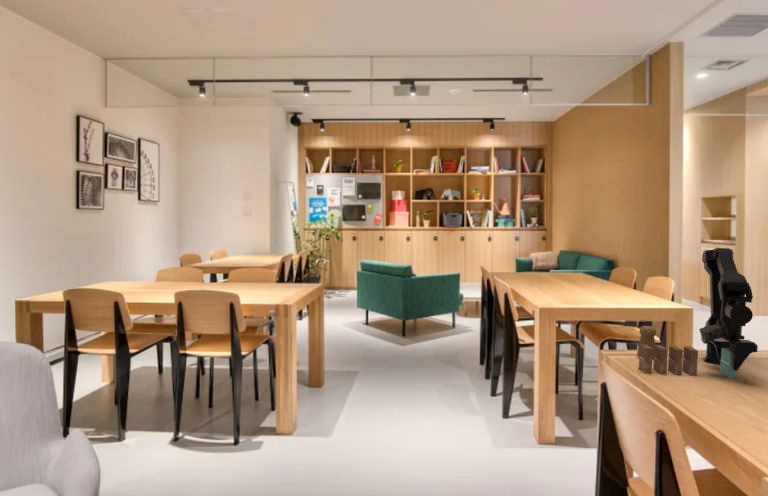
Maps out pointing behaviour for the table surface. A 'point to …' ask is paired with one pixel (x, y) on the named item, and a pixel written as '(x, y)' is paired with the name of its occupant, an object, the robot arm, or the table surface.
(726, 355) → the domino
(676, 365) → the domino
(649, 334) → the cork
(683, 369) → the domino
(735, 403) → the table surface
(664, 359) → the domino
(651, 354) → the domino
